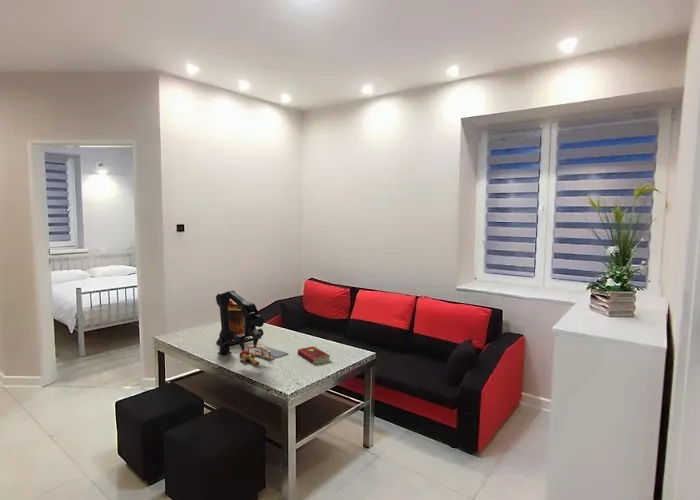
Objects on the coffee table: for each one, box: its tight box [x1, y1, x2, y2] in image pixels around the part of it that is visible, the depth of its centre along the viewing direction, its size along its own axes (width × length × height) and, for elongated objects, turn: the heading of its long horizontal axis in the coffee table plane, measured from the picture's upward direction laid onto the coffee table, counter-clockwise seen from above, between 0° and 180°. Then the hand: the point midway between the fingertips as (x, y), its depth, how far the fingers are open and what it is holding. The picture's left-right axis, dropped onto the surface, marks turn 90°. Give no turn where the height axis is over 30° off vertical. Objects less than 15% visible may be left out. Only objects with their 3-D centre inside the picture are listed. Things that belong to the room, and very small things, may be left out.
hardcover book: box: [297, 345, 331, 365], centre depth 259 cm, size 12×21×4 cm, turn 34°
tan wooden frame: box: [247, 344, 275, 361], centre depth 259 cm, size 21×4×6 cm, turn 55°
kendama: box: [238, 349, 260, 367], centre depth 249 cm, size 8×6×18 cm
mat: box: [253, 345, 289, 359], centre depth 267 cm, size 22×10×1 cm, turn 55°
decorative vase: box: [228, 299, 251, 342], centre depth 295 cm, size 21×23×28 cm
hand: (249, 349), depth 249 cm, fingers open, 9 cm apart
